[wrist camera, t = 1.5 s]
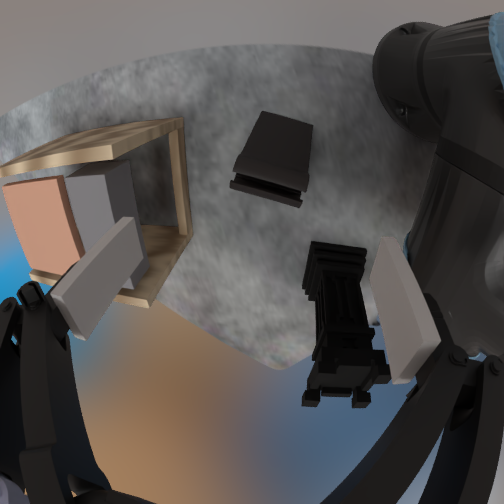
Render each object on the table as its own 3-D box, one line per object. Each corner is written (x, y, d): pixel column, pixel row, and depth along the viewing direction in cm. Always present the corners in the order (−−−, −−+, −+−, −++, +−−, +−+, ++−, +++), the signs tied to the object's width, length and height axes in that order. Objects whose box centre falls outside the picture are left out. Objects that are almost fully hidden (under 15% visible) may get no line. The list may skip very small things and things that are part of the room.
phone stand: (262, 110, 28) (244, 122, 18) (313, 125, 28) (323, 145, 19) (244, 179, 33) (220, 224, 24) (290, 192, 34) (287, 243, 24)
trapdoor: (129, 159, 22) (104, 174, 19) (149, 266, 29) (134, 289, 26) (23, 173, 24) (1, 186, 21) (47, 251, 31) (30, 267, 28)
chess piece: (351, 291, 41) (367, 409, 24) (302, 285, 41) (297, 407, 25) (366, 248, 36) (399, 372, 20) (311, 241, 37) (314, 370, 20)
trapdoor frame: (183, 117, 30) (111, 144, 17) (193, 235, 39) (149, 308, 27) (65, 135, 32) (-8, 170, 20) (85, 227, 42) (32, 280, 29)
